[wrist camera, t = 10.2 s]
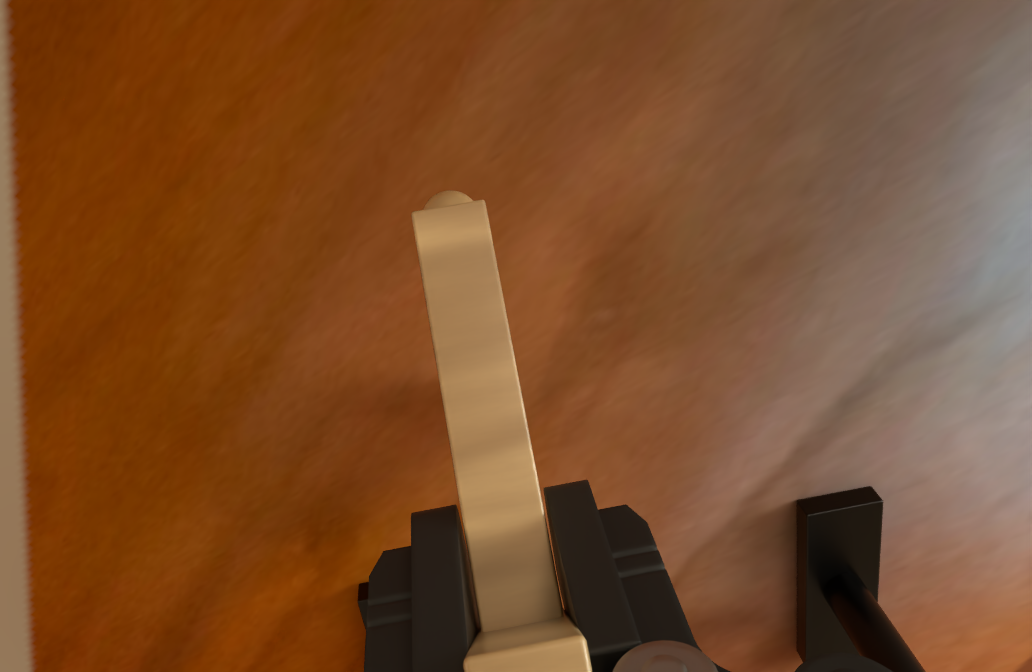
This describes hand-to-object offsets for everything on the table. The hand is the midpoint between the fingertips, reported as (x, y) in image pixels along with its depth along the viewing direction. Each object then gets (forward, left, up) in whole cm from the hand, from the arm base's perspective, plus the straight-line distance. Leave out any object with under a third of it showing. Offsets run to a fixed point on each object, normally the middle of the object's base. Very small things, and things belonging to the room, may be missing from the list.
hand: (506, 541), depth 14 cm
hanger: (0, 0, -9) cm, 9 cm away
